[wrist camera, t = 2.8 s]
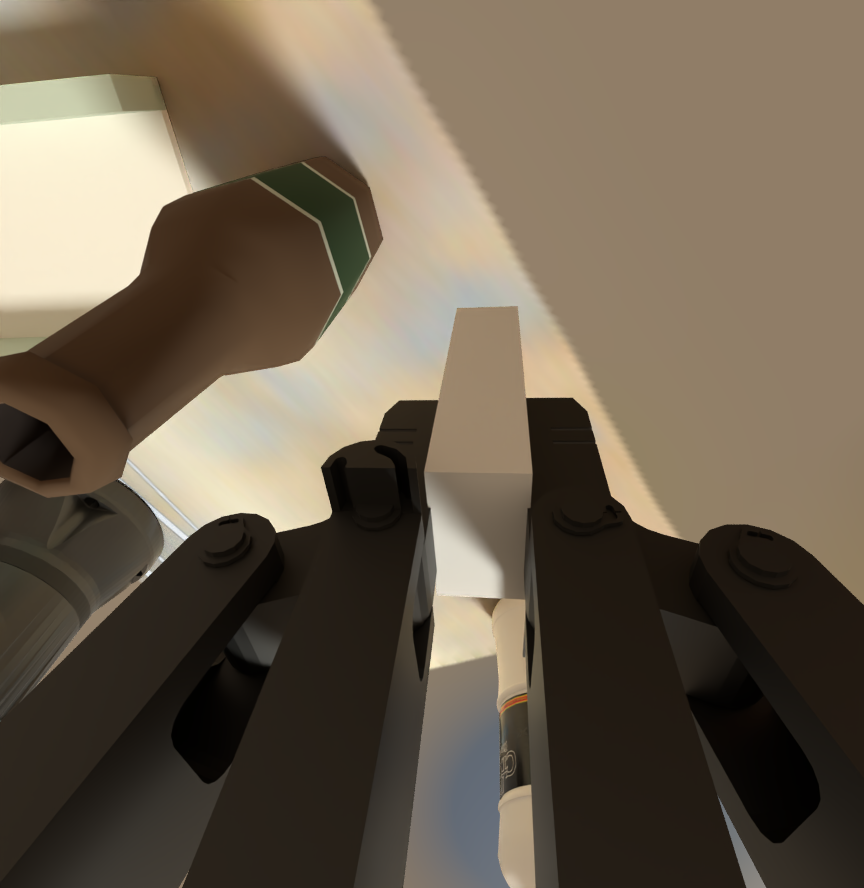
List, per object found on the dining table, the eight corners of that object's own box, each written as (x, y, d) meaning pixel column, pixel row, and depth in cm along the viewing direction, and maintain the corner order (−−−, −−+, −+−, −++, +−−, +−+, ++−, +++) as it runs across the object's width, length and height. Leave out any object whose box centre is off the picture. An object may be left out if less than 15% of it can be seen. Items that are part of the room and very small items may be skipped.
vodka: (590, 631, 51) (679, 1113, 27) (505, 642, 54) (516, 1089, 29) (573, 575, 46) (661, 1099, 22) (480, 589, 49) (468, 1071, 25)
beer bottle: (238, 206, 30) (-230, 398, 11) (329, 121, 27) (-97, 170, 7) (321, 309, 33) (81, 598, 14) (411, 243, 30) (263, 497, 11)
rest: (4, 353, 38) (-41, 376, 35) (-149, 108, 29) (-229, 109, 26) (242, 347, 36) (217, 371, 32) (156, 76, 27) (109, 73, 23)
